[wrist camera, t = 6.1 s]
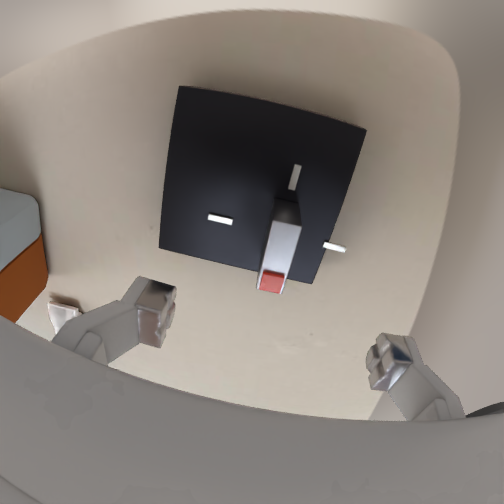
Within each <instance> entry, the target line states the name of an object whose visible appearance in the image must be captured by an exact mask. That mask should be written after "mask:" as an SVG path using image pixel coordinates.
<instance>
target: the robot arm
mask: <svg viewBox="0 0 504 504" xmlns="http://www.w3.org/2000/svg"><path fill="white" fill-rule="evenodd" d="M176 291H177V288H176V287H175V286H172V285H168V284H165V283H162V282H158V281H155V280H151V279H148V278H145V277H141V276H139V277H137V278H136V279H135V281H134V282H133V283H132V285H131V286H130V288H129V289H128V291H127V292H126V294H125V295H124V296H123V298H122V299H121V301H118V300H116V301H114V302H111V303H109V304H106V305H104V306H101V307H99V308H97V309H94V310H92V311H89V312H87V313H84V314H82V315H79V316H77V317H75V318H72V319H70V320H67V321H66V322H65V323H64V325H63V326H62V327H61V329H60V330H59V331H58V333H57V334H56V335H55V337H54V338H53V340H52V341H51V342H50V341H48V340H46V339H44V338H42V337H40V336H38V335H36V334H34V333H32V332H30V331H28V330H26V329H24V328H23V327H21V326H19V325H17V324H15V323H13V322H12V321H10V320H8V319H6V318H4V317H3V316H1V315H0V504H504V413H500V414H493V415H486V416H478V417H470V418H466V416H465V413H464V410H463V408H462V405H461V402H460V399H459V397H458V396H457V395H456V394H455V393H454V392H453V391H452V390H451V389H450V388H449V387H448V386H447V385H446V384H445V383H444V382H443V381H442V380H441V379H440V378H439V377H438V376H437V375H436V374H435V373H434V372H433V371H432V370H431V369H430V368H429V367H428V366H427V365H424V364H423V361H422V358H421V355H420V353H419V350H418V348H417V345H416V342H415V340H414V339H413V338H412V337H409V336H400V335H394V334H387V333H381V334H380V335H379V336H378V337H377V339H376V342H377V344H375V345H373V346H372V347H371V348H370V349H369V351H368V353H367V356H366V368H367V369H368V370H369V372H370V375H369V377H368V378H369V383H370V388H371V390H380V391H388V393H389V395H390V396H391V398H392V399H393V401H394V402H395V404H396V405H397V407H398V408H399V409H400V411H401V412H402V414H403V415H404V416H405V418H406V420H407V421H370V420H351V419H337V418H326V417H316V416H307V415H299V414H292V413H285V412H278V411H272V410H266V409H260V408H255V407H250V406H245V405H240V404H235V403H230V402H225V401H221V400H217V399H212V398H208V397H204V396H200V395H196V394H192V393H189V392H185V391H181V390H178V389H174V388H171V387H168V386H164V385H161V384H158V383H154V382H151V381H148V380H145V379H142V378H139V377H136V376H133V375H130V374H128V373H125V372H122V371H119V370H116V369H114V368H111V367H108V364H109V363H110V362H112V361H113V360H115V359H116V358H118V357H119V356H121V355H122V354H124V353H125V352H127V351H129V350H130V349H132V348H133V347H135V346H136V345H138V344H139V342H140V343H143V344H147V345H150V346H154V347H157V348H161V346H162V344H163V342H164V339H165V337H166V329H168V328H170V326H171V323H172V320H173V317H174V312H175V303H174V299H175V297H176Z"/></svg>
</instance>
